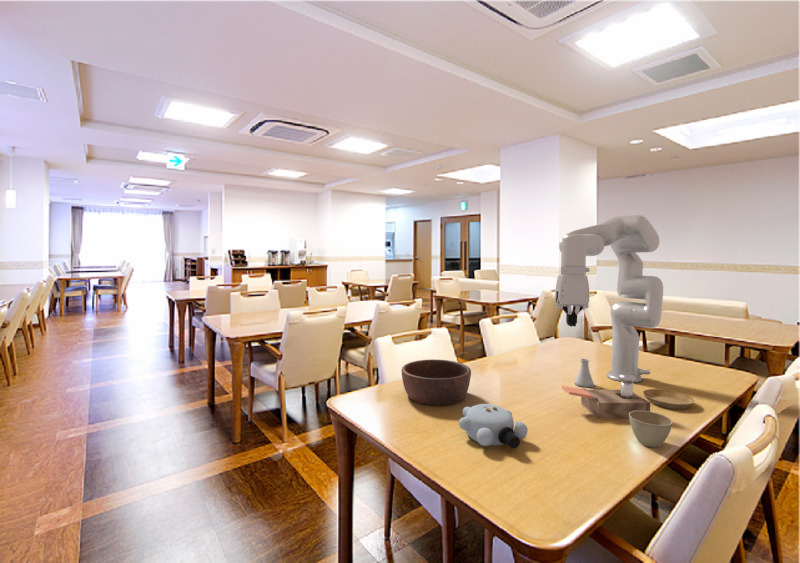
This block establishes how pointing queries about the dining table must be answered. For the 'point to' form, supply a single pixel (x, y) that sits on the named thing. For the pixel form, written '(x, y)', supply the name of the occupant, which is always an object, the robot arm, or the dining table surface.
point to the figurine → (492, 425)
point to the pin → (627, 385)
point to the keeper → (577, 392)
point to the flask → (584, 375)
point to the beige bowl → (650, 427)
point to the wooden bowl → (436, 381)
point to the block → (613, 404)
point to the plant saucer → (668, 398)
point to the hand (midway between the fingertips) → (571, 325)
